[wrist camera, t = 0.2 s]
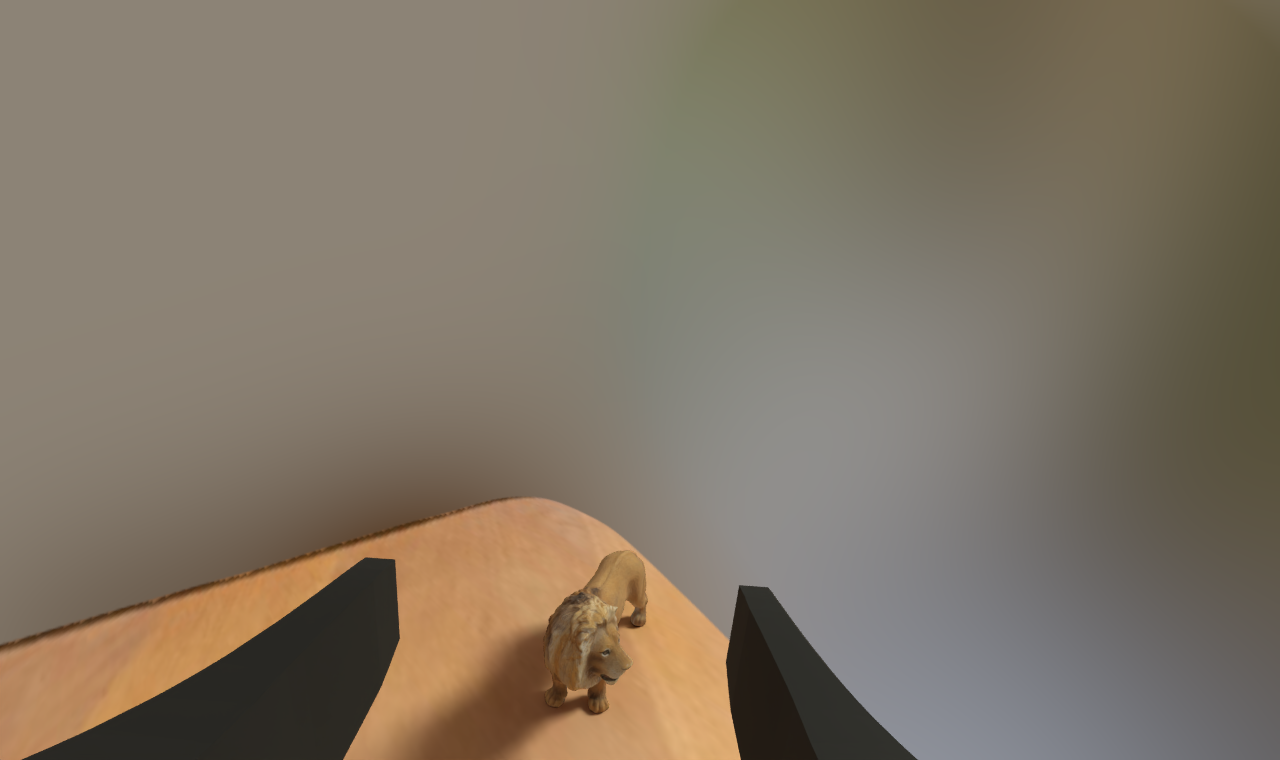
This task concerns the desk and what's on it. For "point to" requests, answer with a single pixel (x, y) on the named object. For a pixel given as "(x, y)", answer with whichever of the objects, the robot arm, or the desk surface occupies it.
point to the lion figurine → (594, 631)
